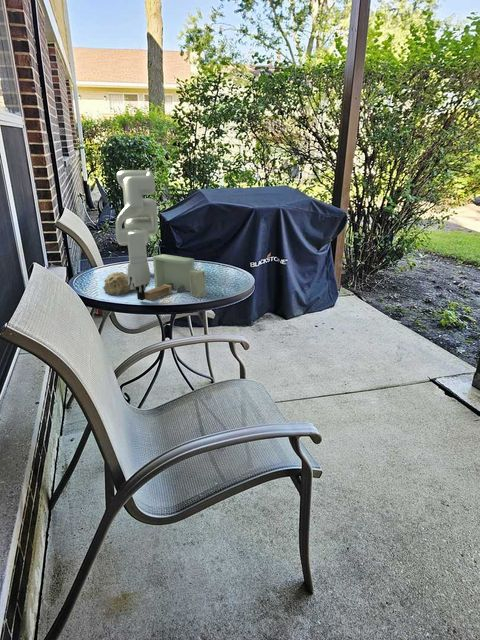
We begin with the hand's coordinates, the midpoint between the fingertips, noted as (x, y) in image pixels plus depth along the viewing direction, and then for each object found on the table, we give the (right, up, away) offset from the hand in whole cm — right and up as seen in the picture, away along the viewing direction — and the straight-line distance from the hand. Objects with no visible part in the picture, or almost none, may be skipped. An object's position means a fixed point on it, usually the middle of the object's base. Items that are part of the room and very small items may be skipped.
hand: (141, 299), depth 188 cm
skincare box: (+25, +2, +10) cm, 27 cm away
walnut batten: (+6, +2, +9) cm, 11 cm away
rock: (-14, +6, +19) cm, 24 cm away
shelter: (+12, +6, +19) cm, 23 cm away
